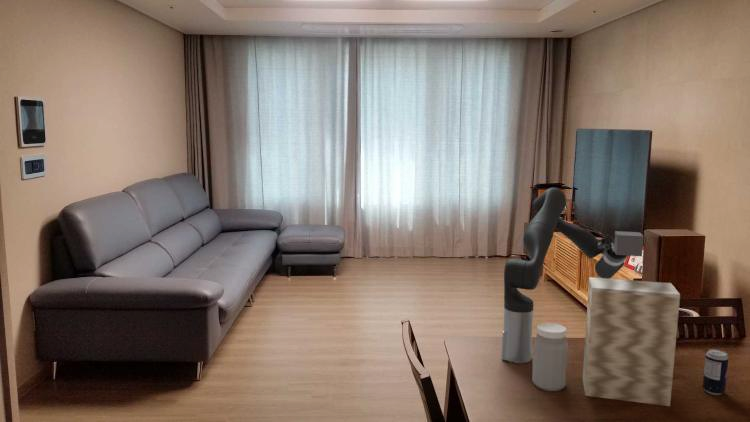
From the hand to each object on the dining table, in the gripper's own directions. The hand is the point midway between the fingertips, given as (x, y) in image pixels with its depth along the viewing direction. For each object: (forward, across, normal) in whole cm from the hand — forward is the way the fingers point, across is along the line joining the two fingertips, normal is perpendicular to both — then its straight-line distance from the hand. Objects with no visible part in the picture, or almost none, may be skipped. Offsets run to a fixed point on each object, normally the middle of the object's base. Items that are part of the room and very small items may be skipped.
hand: (623, 236), depth 181 cm
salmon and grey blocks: (+2, 0, +4) cm, 5 cm away
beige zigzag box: (-1, 0, +47) cm, 47 cm away
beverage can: (-7, +25, +44) cm, 51 cm away
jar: (+1, -21, +48) cm, 53 cm away
